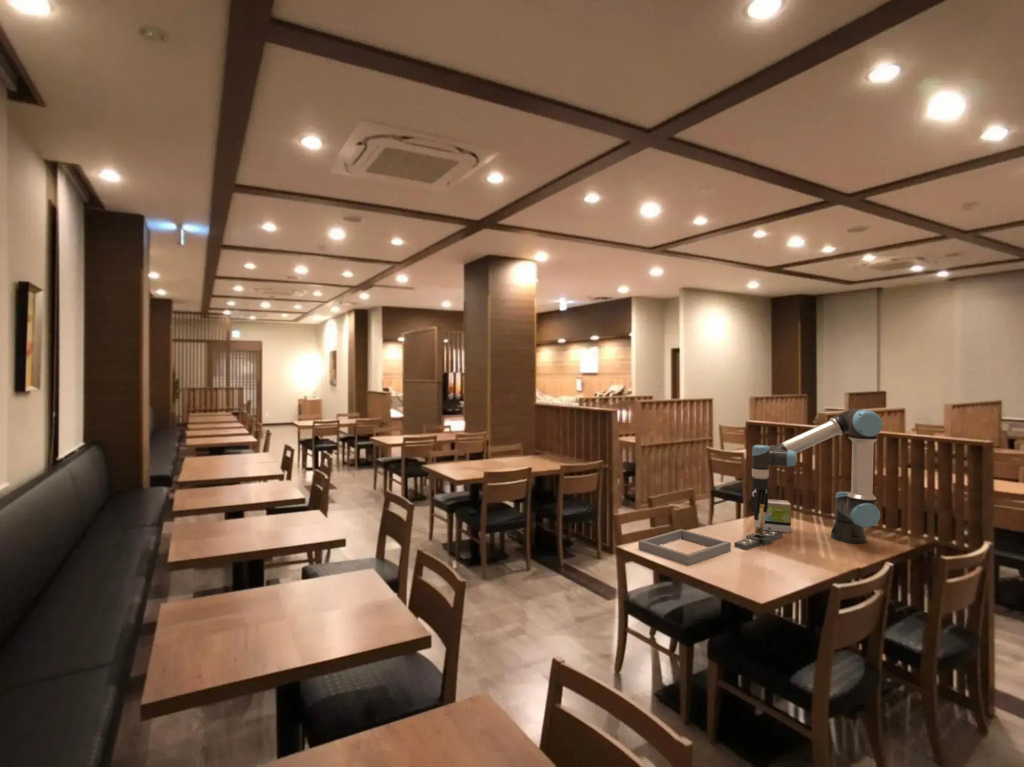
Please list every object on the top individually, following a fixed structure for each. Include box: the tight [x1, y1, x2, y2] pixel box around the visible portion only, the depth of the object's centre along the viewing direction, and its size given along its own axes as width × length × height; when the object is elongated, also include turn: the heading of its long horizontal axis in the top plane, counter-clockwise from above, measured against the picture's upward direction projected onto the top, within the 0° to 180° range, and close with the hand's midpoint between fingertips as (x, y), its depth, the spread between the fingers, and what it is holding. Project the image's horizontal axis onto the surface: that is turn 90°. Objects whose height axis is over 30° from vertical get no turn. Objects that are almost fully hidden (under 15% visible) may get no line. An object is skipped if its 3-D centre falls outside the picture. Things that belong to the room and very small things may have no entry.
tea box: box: [763, 498, 792, 534], centre depth 294 cm, size 15×10×15 cm, turn 73°
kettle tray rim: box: [637, 528, 732, 566], centre depth 259 cm, size 27×32×4 cm
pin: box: [754, 503, 764, 534], centre depth 272 cm, size 4×4×14 cm
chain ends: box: [733, 530, 784, 551], centre depth 272 cm, size 9×33×2 cm, turn 128°
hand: (759, 525), depth 272 cm, fingers closed on pin, 3 cm apart
